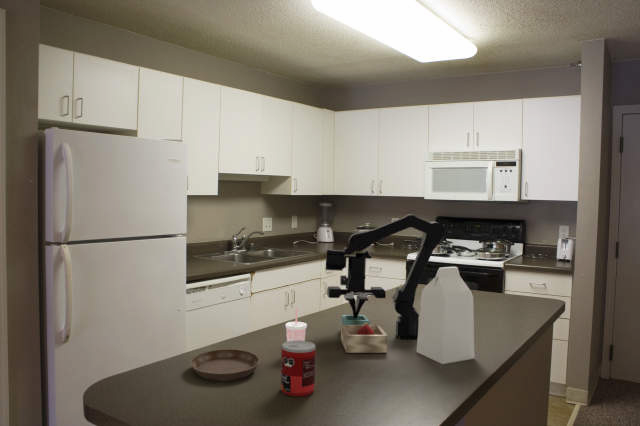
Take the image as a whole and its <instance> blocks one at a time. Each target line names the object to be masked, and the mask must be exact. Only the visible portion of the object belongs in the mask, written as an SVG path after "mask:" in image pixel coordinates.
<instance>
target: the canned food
mask: <svg viewBox="0 0 640 426" xmlns="http://www.w3.org/2000/svg"><path fill="white" fill-rule="evenodd" d="M316 348H317V347H316V344H315V343H313V342H310V341H308V340H307V341H306V340H305V341H288V342H287V341H285V342H283V343H282V345H281V358H280V359H281V360H280V361H281V363H280V364H281V365H280V366H281V367H280V370H281V371H280V389H281V392H282V393H283V394H285V395H286V394H287V396H291V397H305V396H310V395H311V394H312V393H313V392H314V390H315V382H316V381H315V378H316V377H315V376H316Z"/></svg>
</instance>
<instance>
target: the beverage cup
mask: <svg viewBox="0 0 640 426" xmlns="http://www.w3.org/2000/svg"><path fill="white" fill-rule="evenodd" d="M284 325H285V328H286V329H285V330H286V342H288V341H306V329H307V328H308V324H307V323H306V322H302V321H298V306H295V319H294V321H287V323H285V324H284Z"/></svg>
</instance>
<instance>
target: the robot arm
mask: <svg viewBox="0 0 640 426" xmlns="http://www.w3.org/2000/svg"><path fill="white" fill-rule="evenodd" d="M409 228H413V229H415V230H418V231H420V232H422V237H421V244H420V247H419V249H418V252H417V255H416V257H415V258H414V261H413V263H412V266H411V268H410V271H409V272H408V274H407V278H406V279H405V282H404V284H403V285H402V286H401V288H400V287H399V286H397V287H396V288H395V292H394V294H393V296H392V297H391V298H392V305H393V307H394V310H395V312H396V313H397V314H398V315H400V316H397V320H396V322H395V335H397V337H398V338H399V339H400V340H408V339H409V340H412V339H414V340H417V339H418V328H419V316H420V313H418V311H417V310H416V308H415V307H414V304H415V298H416V291H417V288H418V286H419V285H420V281H421V279H422V276H423V274H424V272H425V270H426V268H427V265H428V262H429V261H430V258H431V256H432V255H433V252H434V250H436V248H437V246H439V245H440V243H441V242H442V240H443V238H444V237H445V234H446V228H445V227H444V225H443V224H442V223H440V222H437V221H429V222H428V221H426V220H424V219H421V218H420V217H419V218H418V217H417V216H415V215H414V214H410V213H408V214H406V215H405V216H403V217H400V218H398V219H396V220H393V221H390V222H389V223H385V224H383V225H380V226H378V227H376V228H373V229H367V230H362V231H357V232H354V233H352V234H351V235H350V236H349V239H348V243H347V245H346V246H345V247H344V248H343V250H339V249H337V250H336V249H327V250H326V258H325V271H338V272H339V271H340V272H343V269H345V268H346V269H347V275H340V279H339V280H340V286H345V288H344V289H343V288H340V286H338V285H337V286H334V285H332V286H331V285H330V286H327V288H326V296H327V297H328V298H329V299H333V298H334V299H339V298H340V297H341V296H343V298H344V300H345V301H346V302H347V301H348V303H349V305H350V310H351V313H352V315H353V317H354V318H357V316H358V315H360V314H359V313H360V311H361V310H362V307H363V305H364V304H365V302H366V301H367V302H368V301H369V298H368V296H373V297H375V299H386V293H387V292H386V290H385V289H384V288H383V287H381V286H370V289H366V265H367V263H366V262H367V259H372V257H373V256H372V255H371V253H369V252H368V250H365V249H367V248H368V247H370V246H372V245H373V244H375V243H376V242H378V241H380V240H382V239H384V238H387V237H389V236H392V235H395V234H397V233H400V232H402V231H404V230H407V229H409ZM364 250H365V251H364ZM362 251H364V252H362ZM353 253H355V254H353ZM347 258H348V260H347ZM347 261H348V262H347ZM347 263H348V264H347ZM355 296H356V299H355Z"/></svg>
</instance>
